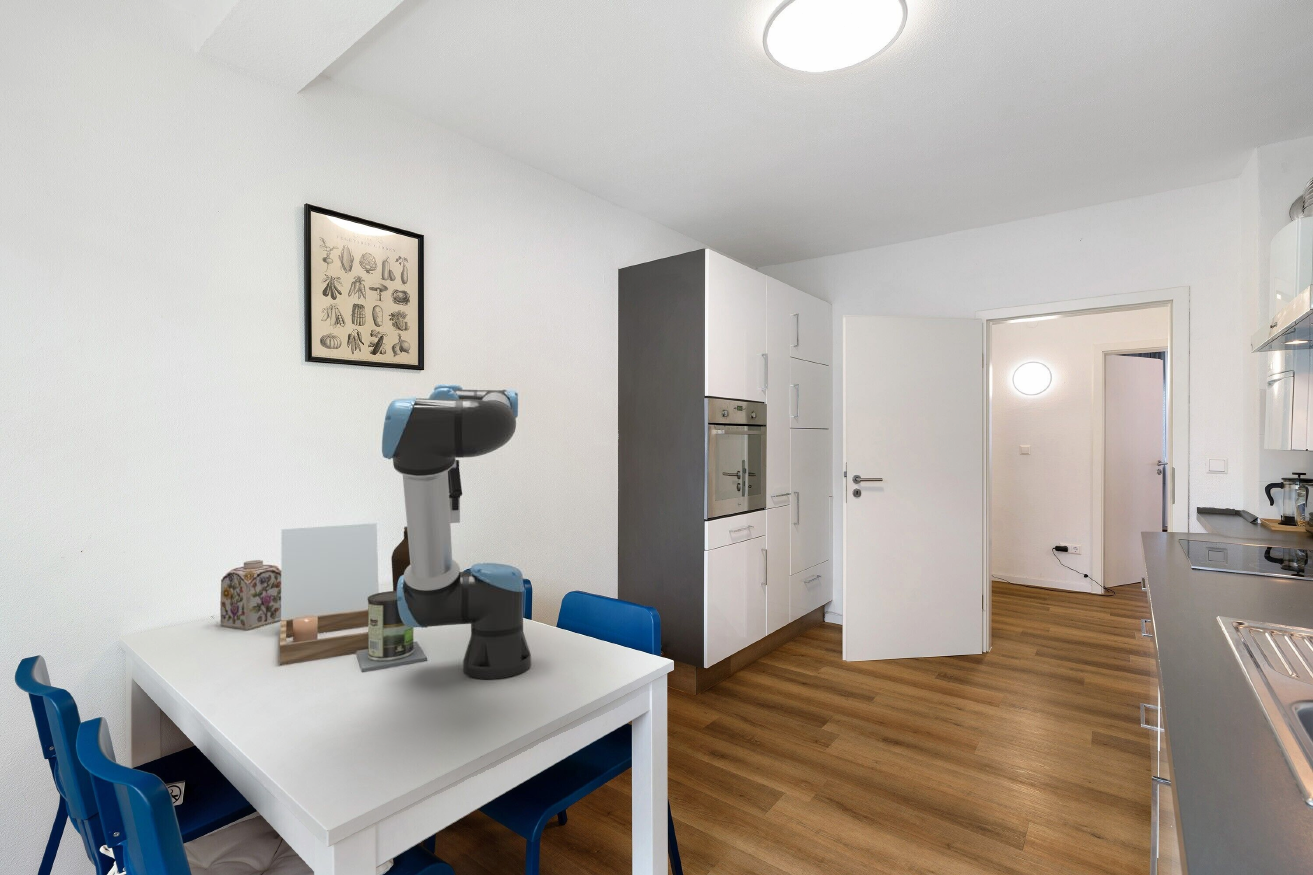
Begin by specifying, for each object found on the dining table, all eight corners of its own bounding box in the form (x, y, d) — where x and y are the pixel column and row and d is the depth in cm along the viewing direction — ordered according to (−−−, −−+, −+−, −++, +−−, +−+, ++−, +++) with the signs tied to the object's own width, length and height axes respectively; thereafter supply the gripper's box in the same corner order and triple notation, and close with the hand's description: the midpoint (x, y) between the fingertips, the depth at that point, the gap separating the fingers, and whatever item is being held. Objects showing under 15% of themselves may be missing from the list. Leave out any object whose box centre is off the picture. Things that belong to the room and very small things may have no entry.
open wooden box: (391, 647, 155) (391, 629, 155) (279, 665, 143) (279, 645, 143) (379, 623, 176) (379, 607, 176) (281, 637, 164) (281, 620, 164)
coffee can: (420, 646, 153) (420, 590, 153) (403, 661, 143) (403, 600, 143) (379, 646, 153) (379, 590, 153) (359, 661, 143) (359, 600, 143)
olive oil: (386, 609, 191) (386, 529, 192) (398, 600, 202) (398, 524, 202) (420, 608, 192) (420, 528, 192) (431, 600, 203) (431, 524, 203)
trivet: (427, 660, 145) (427, 657, 145) (361, 672, 138) (361, 668, 138) (416, 644, 157) (416, 641, 157) (356, 654, 150) (356, 650, 150)
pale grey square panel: (376, 523, 182) (375, 524, 183) (281, 529, 169) (281, 530, 171) (379, 607, 176) (378, 608, 177) (281, 620, 164) (281, 620, 165)
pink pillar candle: (317, 642, 159) (318, 619, 159) (292, 646, 157) (292, 622, 157) (317, 636, 164) (317, 614, 164) (292, 640, 161) (292, 617, 161)
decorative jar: (246, 631, 169) (247, 566, 170) (218, 626, 174) (218, 563, 174) (286, 619, 181) (287, 558, 181) (259, 615, 185) (259, 556, 185)
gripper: (425, 442, 176) (425, 516, 176) (444, 441, 154) (444, 526, 154) (452, 442, 180) (452, 514, 179) (474, 441, 158) (474, 524, 158)
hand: (448, 520), depth 167 cm, fingers open, 13 cm apart
